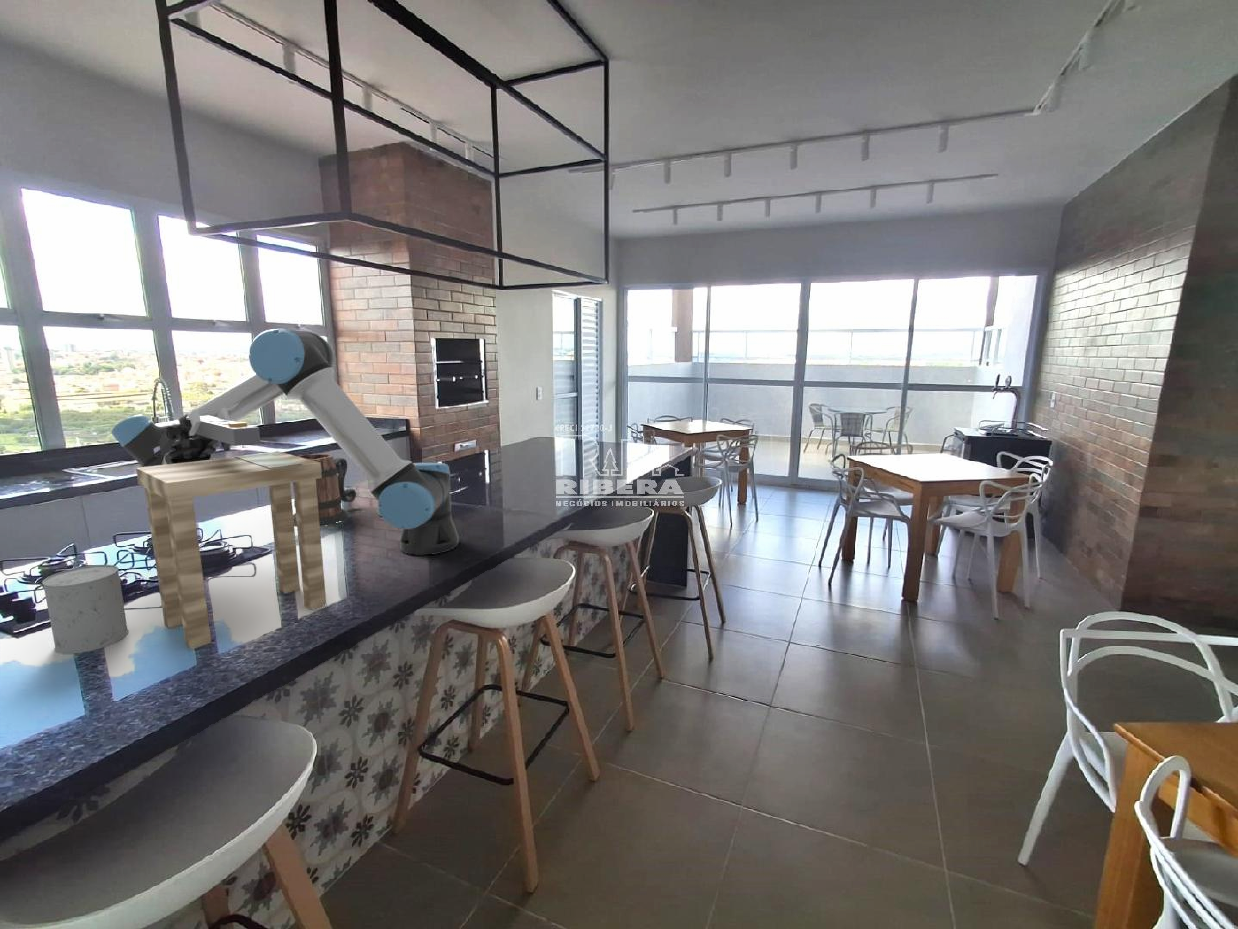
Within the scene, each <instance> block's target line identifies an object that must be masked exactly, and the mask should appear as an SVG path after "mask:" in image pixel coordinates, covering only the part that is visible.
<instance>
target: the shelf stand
mask: <svg viewBox="0 0 1238 929" xmlns="http://www.w3.org/2000/svg"><path fill="white" fill-rule="evenodd" d="M297 456H298V455H293V454H290V453H285V452H282V451H278V452H276V451H275V452H269V453H268V452H267V453H265V452H264V453H255V454H254V453H253V454H246V455H237V456H233V457H223V458H214V459H210V460H204V461H195V462H186V463H177V464H167V465H158V466H149V467H142V466H141V467H136V468H135V472H136V477H137V483H138V485H139V486H141V487H142V488H144V491H145V498H146V507H147V513H148V521H149V528H150V534H151V539H152V546H153V548H152V549H153V554H154V560H155V568H156V573H157V580H158V581H157V582H158V587H159V588H158V590H159V594H160V601H161V602H160V603H161V609H162V616H163V622H164V624H165V625H166V627H167V628H169V629H173V628H176V627H179V626H182V629H183V636H184V638H183V639H184V644H185V645H186V646H187V647H188V649H190V650H194V649H196V648H200V647H203V646H206V645H208V644H209V645H210V644H211V643H212V636H211V629H210V628H211V627H210V621H209V620H210V619H209V614H208V606H207V597H206V589H205V584H204V583H205V582H204V574H203V566H202V560H201V551H200V543H199V537H198V536H199V535H198V529H197V528H198V527H197V520H196V513H195V512H196V511H195V506H194V498H199V497H205V496H212V495H219V494H224V493H225V494H226V493H232V492H237V491H238V492H239V491H244V490H245V491H246V490H249V489H250V490H251V489H257V488H264V487H268V490H269V491H268V493H269V501H270V510H271V520H272V522H271V523H272V531H273V533H272V534H273V540H274V542H273V543H274V552H275V558H276V560H275V561H276V570H277V571H276V572H277V579H278V589H279V591H280V592H282V593H284V594H285V595H286V594H288V593H289V594H290V593H292V592H295V591H300V590H301V585H302V593H303V594H302V595H303V604H304V607H305V608H308V609H309V608H310V609H309V610H311V609H312V610H314V609H313V608H315V609H317V608H316V607H318V608H320V606H321V607H323V605H324V606H326V605H327V597H326V596H327V595H326V585H325V583H326V582H325V573H324V562H323V560H324V559H323V550H322V537H321V528H320V527H321V526H320V524H319V512H318V500H317V488H316V479H317V478H322V475H321V463H319V462H316V461H312V460H308V459H305V458H301V457H297ZM291 483H292V486H293V495H294V501H295V507H294V508H295V513H296V520H297V527H296V529H297V530H296V529H295V526H294V519H293V515H294V512H293V502H292V501H293V499H292V489H291V488H292V487H291ZM295 530H296V531H297V539H298V540H297V541H296V532H295ZM297 542H298V549H299V550H298V551H299V552H298V551H297ZM297 552H298V553H299V561H300V562H299V563H300V572H301V583H302V584H301V585H300V576H299V575H300V573H299V563H298V553H297ZM325 604H326V605H325Z"/></svg>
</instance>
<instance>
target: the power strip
mask: <svg viewBox="0 0 1238 929" xmlns="http://www.w3.org/2000/svg"><path fill="white" fill-rule="evenodd" d="M188 418H189V417H186V420H188ZM200 419H201V423H200V425H199V427H198V429H197V431H196V433H195V434H197V435H201V436H204V437H207V438H211V439H214V440H217V441H221V442H224V443H227V444H230V446H235V447H237V446H248V445H249V446H250V445H259V444H261V437H260V436H261V434H260V428H259V426H255V425H250V424H248V422H244V421H237V422H234V421H230V420H226V419H221V418H217V417H213V416H200Z"/></svg>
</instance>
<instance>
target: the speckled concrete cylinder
mask: <svg viewBox="0 0 1238 929" xmlns="http://www.w3.org/2000/svg"><path fill="white" fill-rule="evenodd" d="M41 583H42V586H43V589H44V595H45V601H46V605H47V606H46V607H47V610H48V617H49V622H50V626H51V632H52V633H51V634H52V638H53V643H54V651H55V652H56V653H58V654H64V655H71V654H74V655H75V654H80V653H81V654H82V653H87V652H92V651H95V650H99V649H103V648H106V647H108V646H111V645H113V644H115V643H118V642H119V641H121V640H123V639H124V638H125V637H127V635H128V634H129V629H128V624H127V618H126V612H125V604H124V599H123V592H122V587H121V580H120V573H119V567H118V566H116V565H114V564H113V565H112V564H95V565H87V566H81V567H80V566H79V567H76V568H71V569H66V570H64V571H60V572H57V573H55V574H51V575H50V576H47V577H45V578H44V579H43V580H42V582H41Z"/></svg>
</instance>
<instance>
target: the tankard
mask: <svg viewBox="0 0 1238 929" xmlns="http://www.w3.org/2000/svg"><path fill="white" fill-rule="evenodd" d="M296 456H297V457H301V458H305V459H308V460H312V461H316V462H319V463H321V475H322V478H317V479H316V488H317V500H318V512H319V524H320V527H325V525H327V526H331V525H330V524H333V525H335V524H334V523H336V522H339V521H343V522H345V521H347V520H348V519H349V518H350V517H349V516H350V514H349V513H347V511H346V510H345V509H343V508H342V507H343V506H342V502H344V503H353V502H354V501H355V500H356V497H357V492H356V490H355V489H353V488H347V489H345V477H346V475H347V471H348V470H347V469H348V462H347V460H346V459H345V458H340V457H336V458H334V456H333V455H332V454H329V453H327V454H325V453H321V454H319V453H318V454H302V455H301V454H300V455H296ZM293 503H294V504H293V505H294V508H295V500H294V502H293ZM348 517H349V518H348ZM347 518H348V519H347ZM293 519H294V527H295V528H297V520H296V512H295V513H293ZM346 519H347V520H346Z"/></svg>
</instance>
